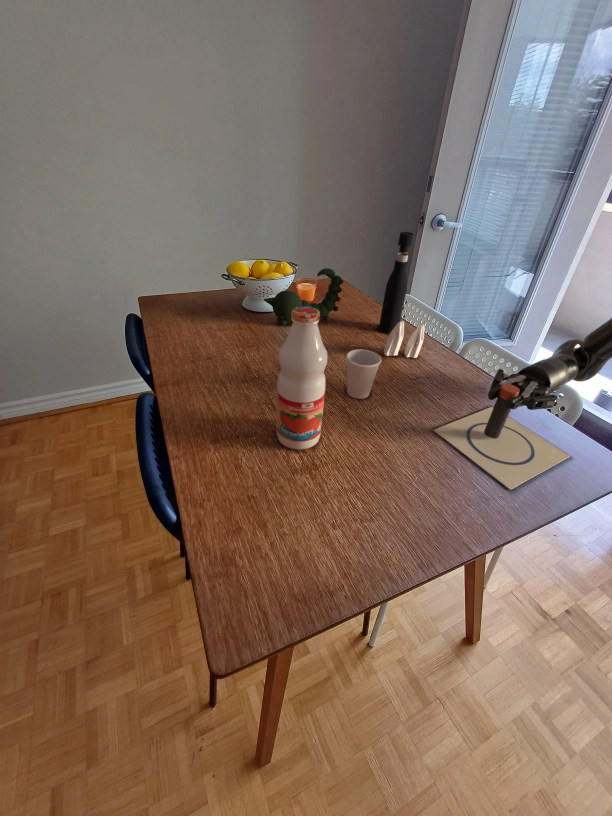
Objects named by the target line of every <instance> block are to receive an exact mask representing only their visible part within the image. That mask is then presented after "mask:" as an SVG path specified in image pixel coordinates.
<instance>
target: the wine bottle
mask: <svg viewBox="0 0 612 816" xmlns="http://www.w3.org/2000/svg"><path fill="white" fill-rule="evenodd" d="M413 240H414V233H413V232H409V231H401V232H399V238H398V243H397V245H398V246H399V250H398V253H397V255H396V257H395V258H396V259H395V261H394V265H393V270H392V271H391V273H390V275H389V277H388V279H387V282H386V285H385V291H384V296H383V302H382V308H381V313H380V319H379V324H378V330H379V331H380V332H381V333H383V334H389V335H390V333H391V332H392V330H393V329H394V327H395V326H396V325H397V323H398V322H401V319H402V315H403V310H404V305H405V300H406V296H407V290H408V275H407V270H408V263H409V262H408V260H409V259H408V258H409V254H408V253H409V248H410V247H412V245H413Z"/></svg>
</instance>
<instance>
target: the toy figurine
mask: <svg viewBox="0 0 612 816" xmlns="http://www.w3.org/2000/svg"><path fill="white" fill-rule="evenodd" d="M316 276H317V277H320V276H326V277H327V278H328V279H330V283H329V284H328V288H327V291H326V292H325V295H324V296H325V297H324V298H323V299H322V300H321V302H318V303H316V302H309V301H308V300H305V299H302V298H301V297H300V296H299V294H298V293H296V292H295V291H292V290H289V289H287V290H286V289H285V290H281V291H279V292H278V293H276V295H275V296H273V297H266V298H263V301H264V302H265V303H267V304H269V305H270V306H271V307H272V312H273V313H274V315H275V317H276V321H277V323H278V325H279V326H282V327H283V326H286V325H287V323H288V322H289V321H291V322H292V319H291V318H292V317H291V314H292V310H293V309H294V308H296V307H301V306H307V307H313V308H315V309H317V310H318V311H319V313H320V319H323V321H324V322H326V323H327V322H329V321H330V316H329V314H330V312H332V311H333V312H338V311H339V307H338V305H336V302H338V303H339V302H341V297H340V296H339V293H342V292H343V289H342V288H341V285H343V284H344V280H343V279H342V277H341V276H340V275H337V274H336V272H335V270H333V269H331V268H330V267H329V268H327V267H325V268H322V269H321V270H319V271H318V272H317V274H316ZM320 319H319V320H320ZM317 325H319V322H318V323H317Z"/></svg>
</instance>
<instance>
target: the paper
mask: <svg viewBox="0 0 612 816" xmlns="http://www.w3.org/2000/svg"><path fill="white" fill-rule="evenodd" d="M493 408H494V406H490V407H488V408H485V409H483V410H480V411H478V412H475V413H472V414H470V415H467V416H465V417H463V418H460V419H457V420H454V421H452V422H450V423H447V424H444V425H442V426H439V427H437V428H435V429H433V430H432V431H433V432H434V433H436V434H437V435H438V436H439V437H441V438H442V439H443V440H445V441H446V442H447V443H449V444H450V445H451V446H452V447H454V448H455V449H457V450H458V451H459V452H460V453H461V454H463V455H464V456H465V457H467V458H468V459H469V460H470V461H472V462H473V463H475V465H477V466H479V468H480V469H482V470H484V471H485V472H486V473H487V474H489V475H490V476H491V477H493V478H494V479H495V480H496V481H497V482H499V483H500V484H502V486H504V487H505V488H507V489H508V490H509V491H511V490H513V489H515V488H517V487H518V486H520V485H522V484H524V483H525V482H527V481H529V480H531V479H532V478H534V477H536V476H538V475H539V474H541V473H543V472H545V471H547V470H549V469H550V468H552V467H555V466H556V465H558V464H559V463H562V462H563V461H565V460H566V459H568V458H570V455H569V454H567V453H566V452H564V451H562V450H561V449H559V448H558V447H556V446H555V445H553V444H552V443H550V442H548V441H546V440H545V439H543V437H541V436H539V435H537V434H536V433H534V432H533V431H531V430H529V429H528V428H526V427H525V426H523V425H521V424H520V423H518V422H517V421H515V420H513V419H512V418H510V417H509V416H508V417H507V420H506V422H505V424H504V426H503V429H502V431H501V433H500V436H499V437H498V438H490V437H488V436H486V435H485V434H484V430H485V428H486V425H487V423H488V420H489V418H490V415H491V413H492V410H493Z"/></svg>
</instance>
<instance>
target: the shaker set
mask: <svg viewBox="0 0 612 816" xmlns="http://www.w3.org/2000/svg"><path fill="white" fill-rule="evenodd" d="M404 321H405V320H400V322H398V323H397V325H396V326H395V327H394V329H393V330H392V332H391V333H390V334H389V335H388V338H387V340H386V343H385V346H384V349H383V352H384V353H383V355H384V357H392V356H393V357H395V356H398V354H399V351H400V349H401V345H402V343H403V339H404V333H405V322H404ZM424 339H425V324H424V323H422V324H419V325H418V326H417V327H416V329H415V330H414V331H413V333H412V334H411V335H410V337H409V339H408V342H407V344H406V346H405V349H404V352H403V353H404V357H405V358H412V359H416V358H418V356H419V354H420V351H421V349H422V346H423V343H424Z"/></svg>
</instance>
